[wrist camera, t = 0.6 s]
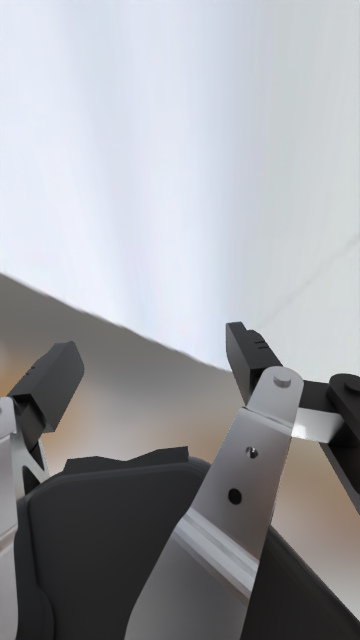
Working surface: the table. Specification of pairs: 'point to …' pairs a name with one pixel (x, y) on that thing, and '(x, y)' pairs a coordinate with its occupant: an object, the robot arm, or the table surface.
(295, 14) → the table surface
